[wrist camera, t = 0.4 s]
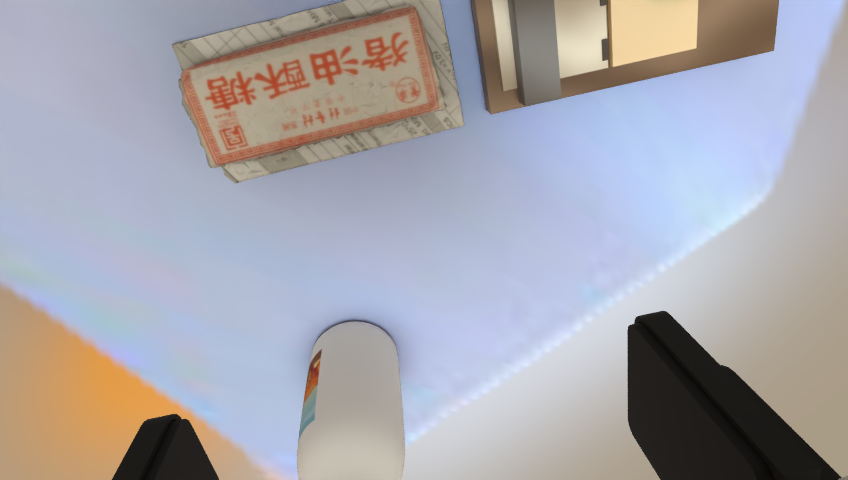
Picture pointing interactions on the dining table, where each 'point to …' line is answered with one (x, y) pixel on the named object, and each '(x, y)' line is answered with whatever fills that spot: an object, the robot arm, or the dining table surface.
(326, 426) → the milk bottle
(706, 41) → the ticket board
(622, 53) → the teal block on plate
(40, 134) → the dining table surface
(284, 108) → the packaged product
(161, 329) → the dining table surface
